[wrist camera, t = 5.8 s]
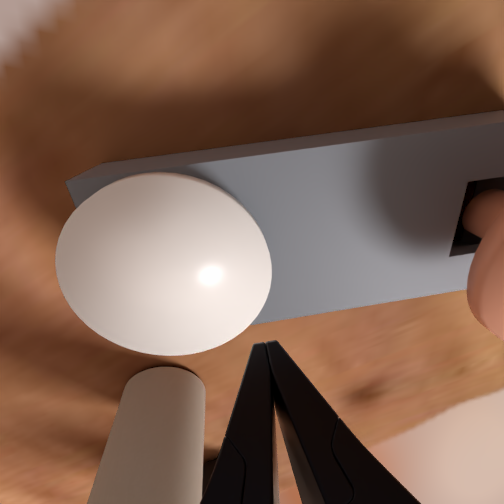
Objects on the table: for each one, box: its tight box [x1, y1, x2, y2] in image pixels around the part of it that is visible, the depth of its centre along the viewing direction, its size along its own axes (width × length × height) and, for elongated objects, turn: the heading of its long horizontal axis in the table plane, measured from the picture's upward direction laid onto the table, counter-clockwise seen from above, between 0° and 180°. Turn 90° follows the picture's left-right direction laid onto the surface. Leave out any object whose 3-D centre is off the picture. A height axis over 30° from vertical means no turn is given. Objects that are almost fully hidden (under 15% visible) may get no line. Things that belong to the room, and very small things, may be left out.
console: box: [65, 110, 504, 325], centre depth 19 cm, size 28×11×5 cm, turn 96°
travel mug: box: [87, 367, 206, 504], centre depth 20 cm, size 8×8×18 cm
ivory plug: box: [55, 172, 272, 356], centre depth 18 cm, size 11×11×6 cm
